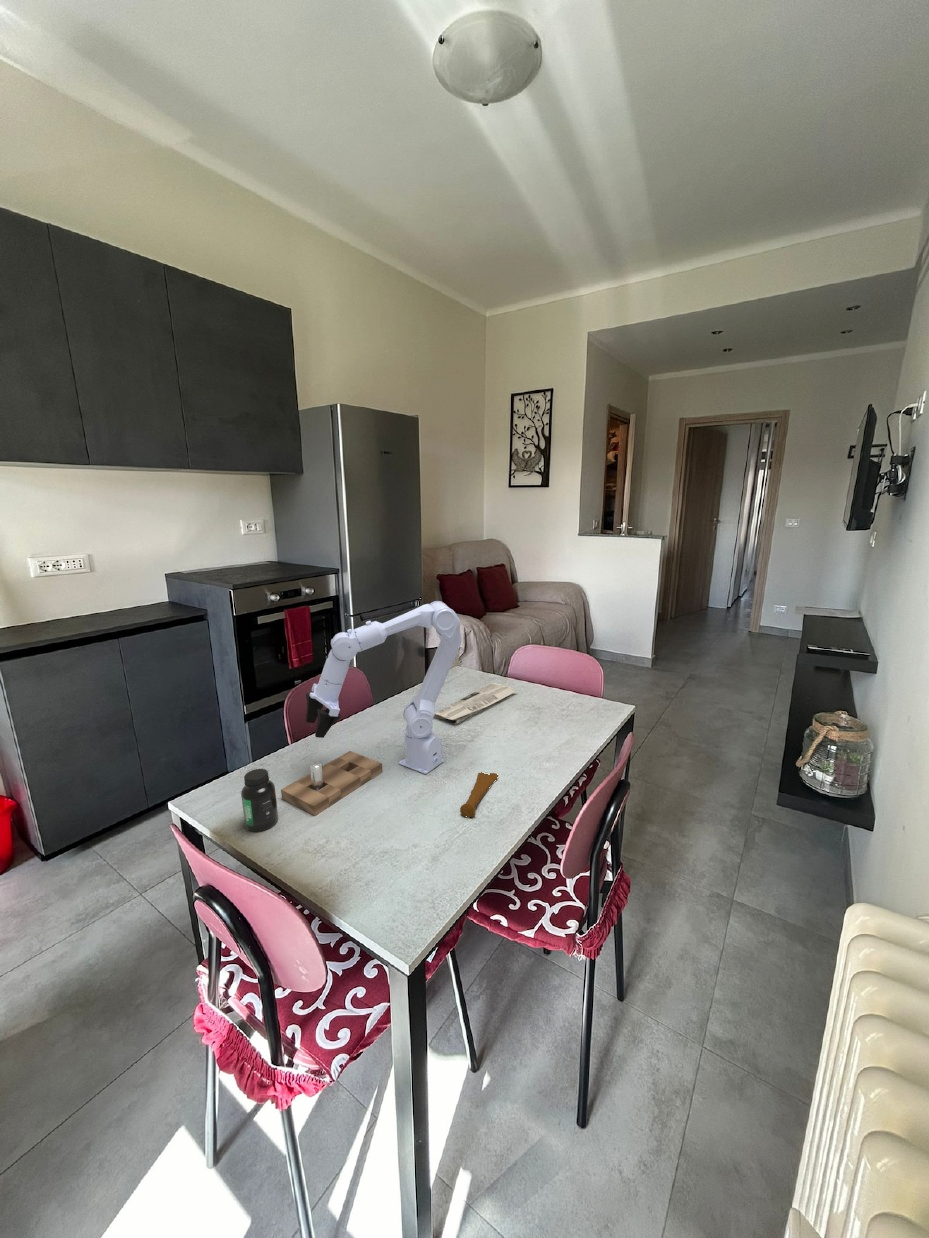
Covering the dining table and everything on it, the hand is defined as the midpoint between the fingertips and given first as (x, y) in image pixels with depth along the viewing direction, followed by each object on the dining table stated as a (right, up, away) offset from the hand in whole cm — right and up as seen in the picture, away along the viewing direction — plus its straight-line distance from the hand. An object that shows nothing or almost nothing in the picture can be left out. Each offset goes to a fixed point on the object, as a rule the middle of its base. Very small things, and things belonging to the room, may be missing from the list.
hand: (314, 729), depth 123 cm
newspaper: (+42, -3, +47) cm, 63 cm away
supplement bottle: (-7, -18, -14) cm, 24 cm away
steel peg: (+2, -15, -4) cm, 16 cm away
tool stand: (+5, -14, 0) cm, 15 cm away
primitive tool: (+41, -15, -4) cm, 44 cm away
